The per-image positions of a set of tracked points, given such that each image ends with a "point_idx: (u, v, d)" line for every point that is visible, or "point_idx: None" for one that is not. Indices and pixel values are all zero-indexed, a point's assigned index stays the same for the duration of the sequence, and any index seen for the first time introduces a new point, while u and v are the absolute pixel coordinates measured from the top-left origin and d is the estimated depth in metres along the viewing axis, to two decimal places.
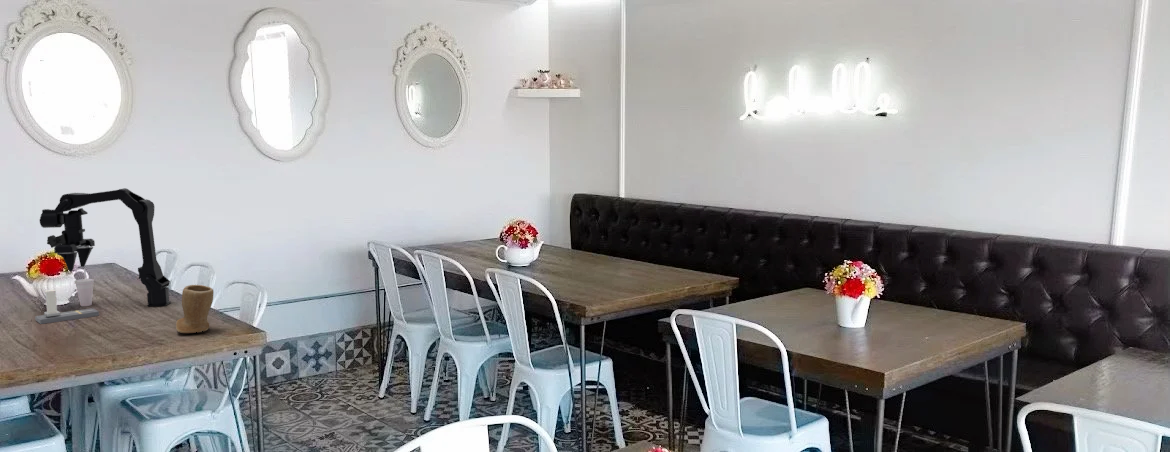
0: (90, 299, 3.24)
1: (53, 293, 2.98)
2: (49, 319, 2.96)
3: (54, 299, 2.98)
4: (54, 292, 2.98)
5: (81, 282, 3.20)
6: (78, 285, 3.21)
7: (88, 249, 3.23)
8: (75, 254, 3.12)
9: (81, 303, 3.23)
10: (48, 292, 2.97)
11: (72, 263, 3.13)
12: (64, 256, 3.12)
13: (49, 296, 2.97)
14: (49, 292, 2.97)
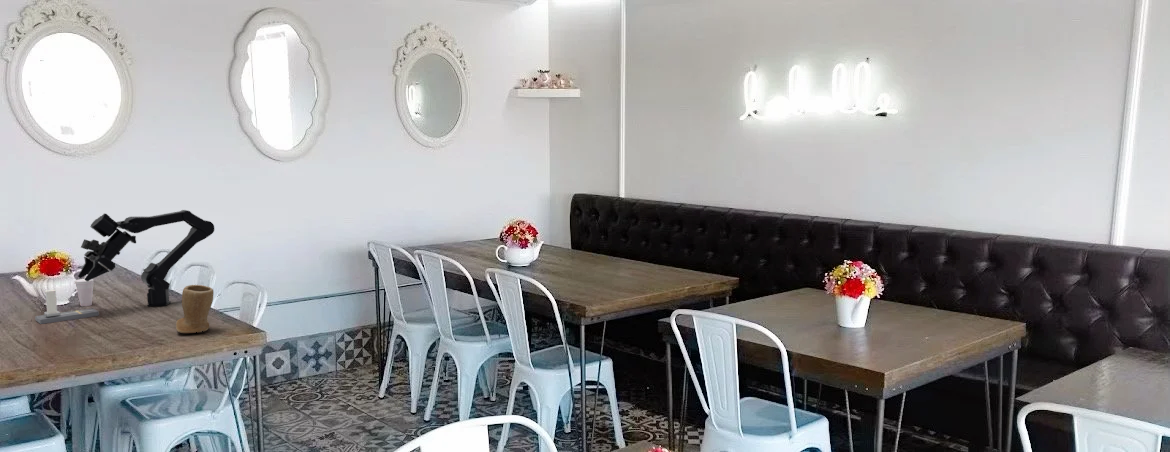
0: (90, 299, 3.24)
1: (53, 293, 2.98)
2: (49, 319, 2.96)
3: (54, 299, 2.98)
4: (54, 292, 2.98)
5: (81, 282, 3.20)
6: (78, 285, 3.21)
7: None
8: None
9: (81, 303, 3.23)
10: (48, 292, 2.97)
11: (95, 276, 3.03)
12: (96, 266, 3.02)
13: (49, 296, 2.97)
14: (49, 292, 2.97)
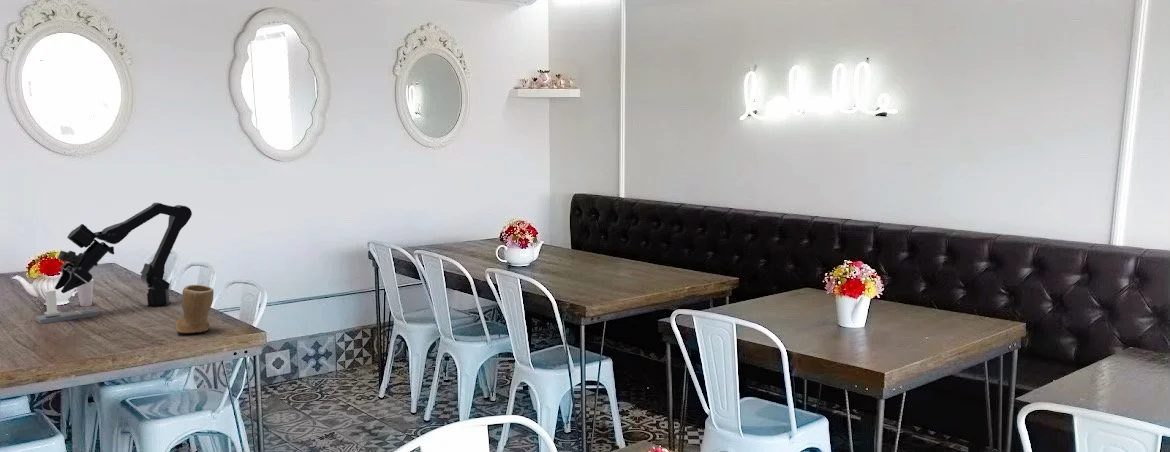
0: (90, 299, 3.24)
1: (53, 293, 2.98)
2: (49, 319, 2.96)
3: (54, 299, 2.98)
4: (54, 292, 2.98)
5: None
6: None
7: None
8: None
9: (81, 303, 3.23)
10: (48, 292, 2.97)
11: (71, 288, 2.98)
12: (73, 278, 2.97)
13: (49, 296, 2.97)
14: (49, 292, 2.97)
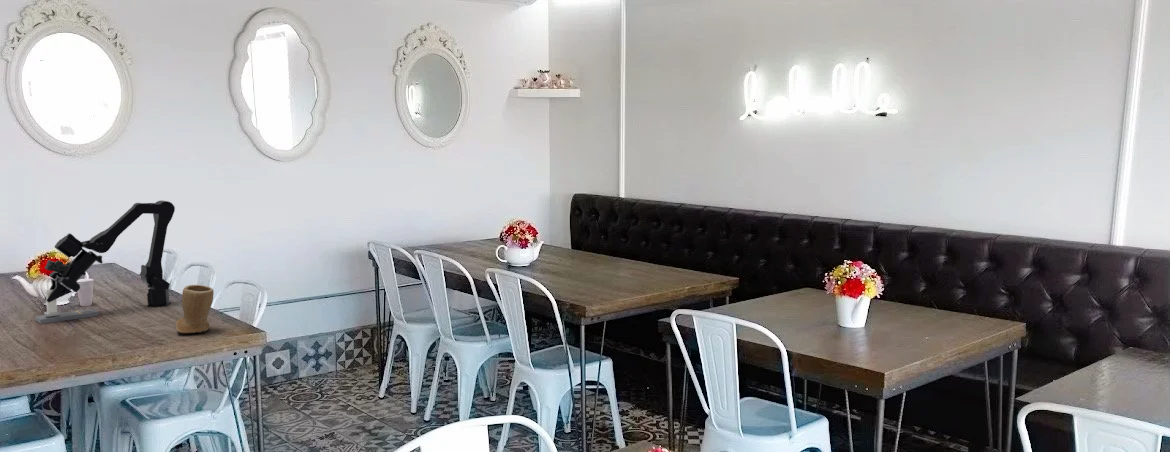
0: (90, 299, 3.24)
1: None
2: (49, 319, 2.96)
3: None
4: None
5: (81, 282, 3.20)
6: None
7: None
8: None
9: (81, 303, 3.23)
10: (48, 292, 2.97)
11: (57, 297, 2.98)
12: (58, 287, 2.97)
13: None
14: (49, 292, 2.97)
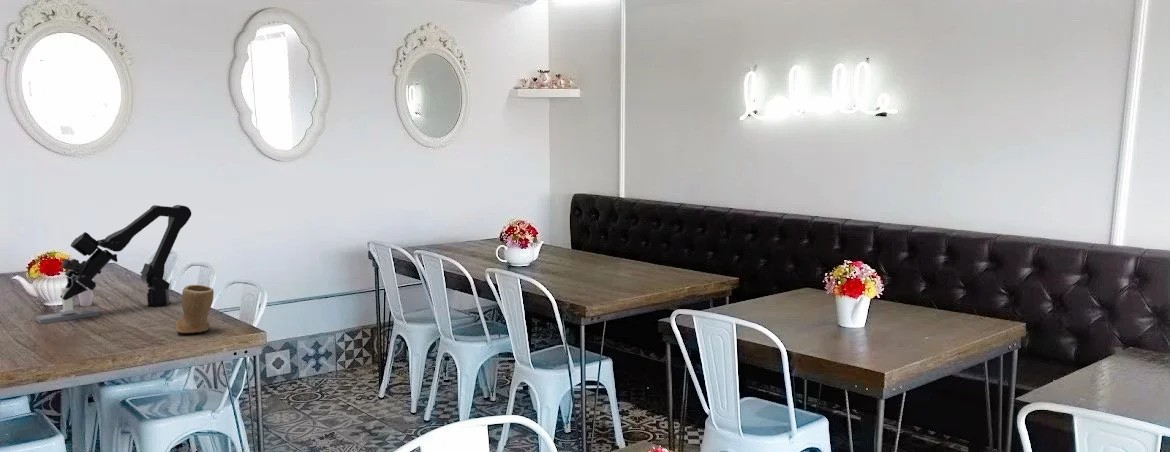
0: (90, 299, 3.24)
1: None
2: (49, 319, 2.96)
3: None
4: None
5: None
6: None
7: None
8: None
9: (81, 303, 3.23)
10: (64, 290, 3.00)
11: (73, 295, 3.01)
12: (74, 285, 3.00)
13: None
14: (65, 290, 3.00)
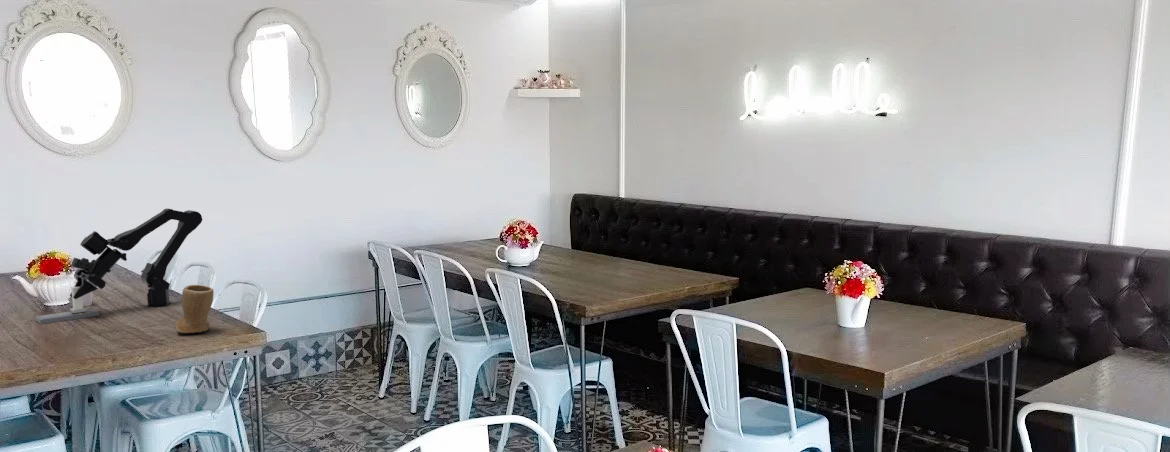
0: (90, 299, 3.24)
1: None
2: (49, 319, 2.96)
3: None
4: None
5: None
6: None
7: None
8: None
9: None
10: (74, 289, 3.02)
11: (83, 294, 3.03)
12: (84, 284, 3.02)
13: None
14: (75, 289, 3.02)
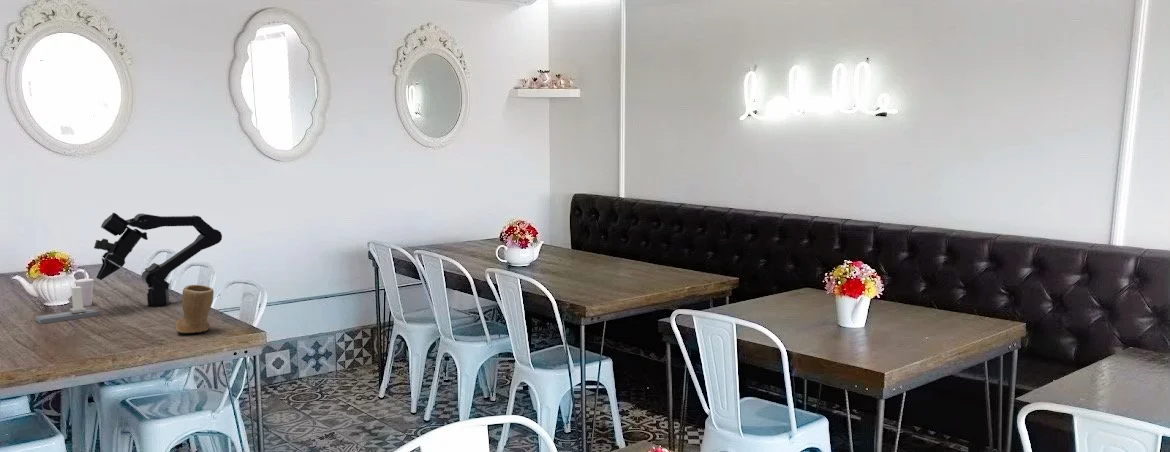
0: (90, 299, 3.24)
1: (79, 289, 3.03)
2: (49, 319, 2.96)
3: (80, 296, 3.04)
4: (80, 289, 3.03)
5: (81, 282, 3.20)
6: (78, 285, 3.21)
7: None
8: None
9: None
10: (74, 289, 3.02)
11: (108, 274, 3.06)
12: (107, 264, 3.05)
13: (75, 293, 3.03)
14: (75, 289, 3.02)
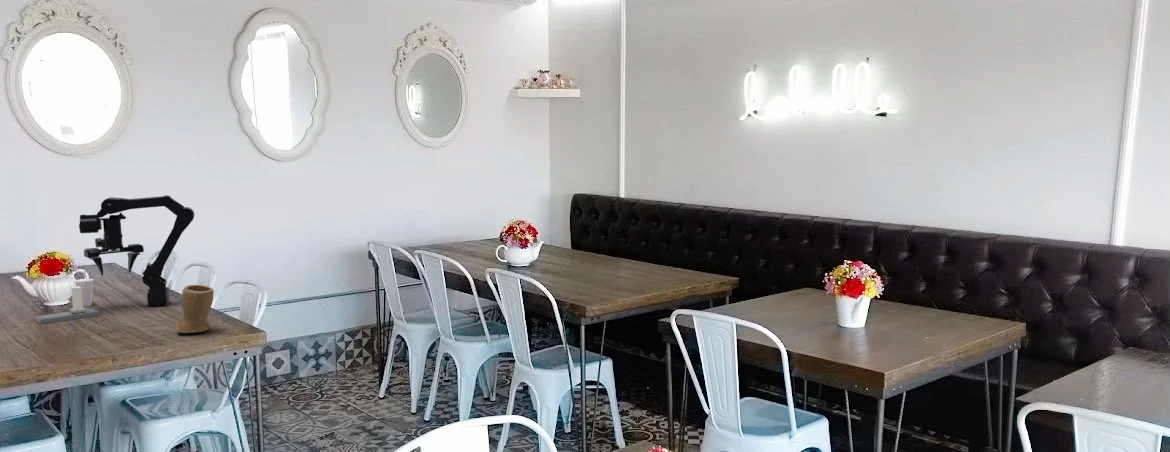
0: (90, 299, 3.24)
1: (79, 289, 3.03)
2: (49, 319, 2.96)
3: (80, 296, 3.04)
4: (80, 289, 3.03)
5: (81, 282, 3.20)
6: (78, 285, 3.21)
7: (131, 255, 3.18)
8: (98, 259, 3.10)
9: None
10: (74, 289, 3.02)
11: (99, 268, 3.12)
12: (94, 260, 3.12)
13: (75, 293, 3.03)
14: (75, 289, 3.02)
